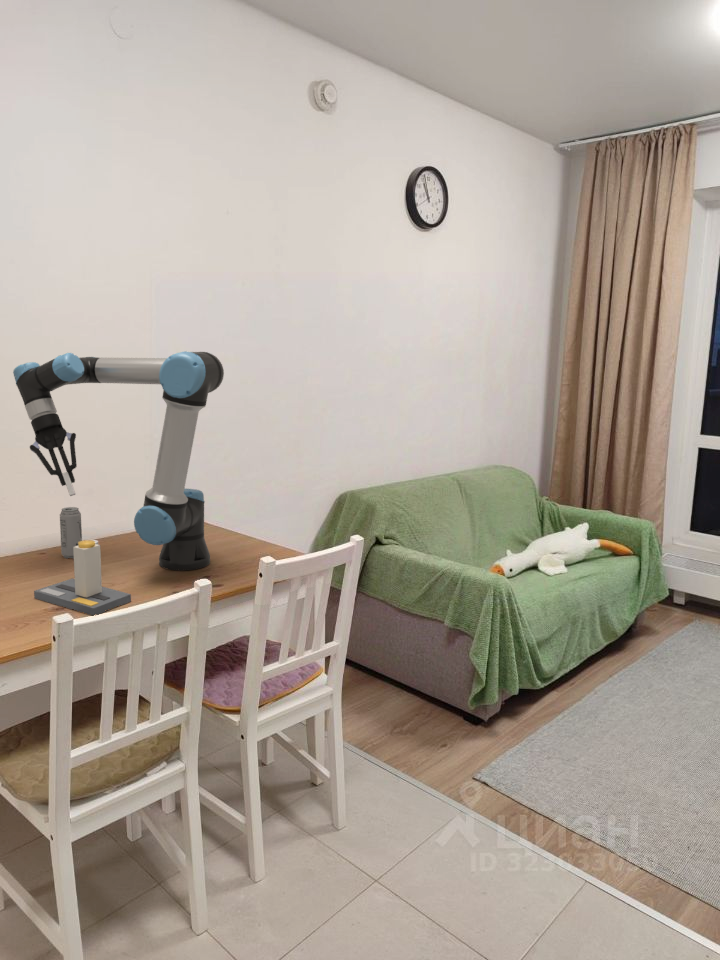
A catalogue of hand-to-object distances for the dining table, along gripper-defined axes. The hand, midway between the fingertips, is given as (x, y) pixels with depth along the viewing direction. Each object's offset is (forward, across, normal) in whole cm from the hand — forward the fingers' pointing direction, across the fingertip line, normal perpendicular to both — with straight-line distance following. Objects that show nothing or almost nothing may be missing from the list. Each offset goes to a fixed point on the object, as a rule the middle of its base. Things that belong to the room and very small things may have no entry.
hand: (72, 494), depth 204 cm
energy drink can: (+15, +5, -23) cm, 28 cm away
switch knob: (+28, +5, +18) cm, 33 cm away
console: (+29, +7, +15) cm, 33 cm away
